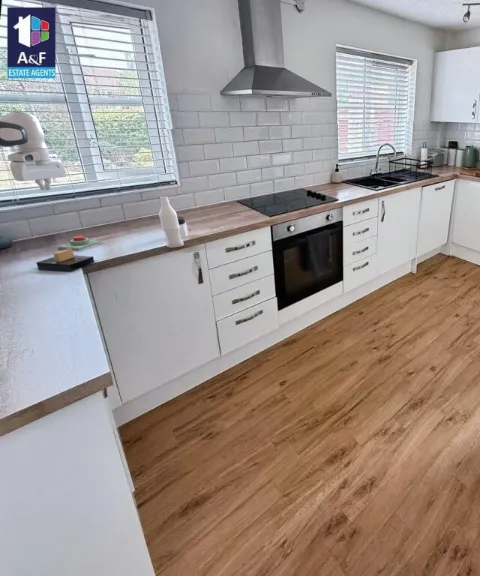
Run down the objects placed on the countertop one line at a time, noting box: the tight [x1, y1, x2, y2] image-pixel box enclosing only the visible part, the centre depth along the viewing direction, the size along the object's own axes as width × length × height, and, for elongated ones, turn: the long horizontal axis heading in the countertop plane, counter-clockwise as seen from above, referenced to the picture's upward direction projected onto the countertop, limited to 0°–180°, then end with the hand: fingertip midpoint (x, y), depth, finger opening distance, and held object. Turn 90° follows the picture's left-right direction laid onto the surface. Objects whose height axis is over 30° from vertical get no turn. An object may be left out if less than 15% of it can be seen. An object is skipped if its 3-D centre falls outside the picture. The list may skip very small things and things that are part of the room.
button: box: [72, 235, 85, 241], centre depth 171 cm, size 4×4×2 cm
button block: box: [57, 237, 102, 251], centre depth 172 cm, size 10×13×4 cm
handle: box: [53, 248, 75, 262], centre depth 147 cm, size 6×2×4 cm, turn 174°
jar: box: [177, 216, 189, 239], centre depth 185 cm, size 9×8×12 cm
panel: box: [35, 254, 95, 273], centre depth 148 cm, size 14×11×3 cm
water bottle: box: [158, 195, 185, 249], centre depth 169 cm, size 7×7×25 cm
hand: (45, 190), depth 157 cm, fingers closed
